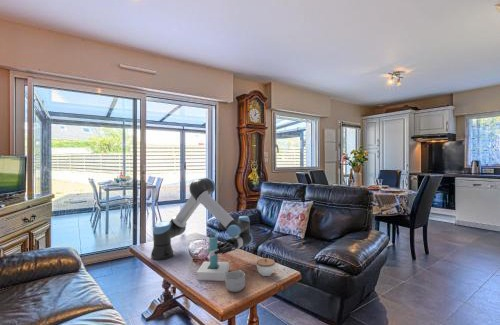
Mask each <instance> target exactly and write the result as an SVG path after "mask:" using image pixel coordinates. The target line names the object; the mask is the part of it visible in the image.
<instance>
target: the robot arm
mask: <svg viewBox="0 0 500 325" xmlns="http://www.w3.org/2000/svg"><path fill="white" fill-rule="evenodd" d="M188 188H189V189H188V190H189V193H190V197H189V198H188V199H187V201H186V202H185V203H184V205H183V206H182V208H181V209H180V210H179V212H177V215H174V216H173V217H172V218H171V220H169V221H168V220H167V221H160V222H157V223H155V224H154V225H153V230H152V233H153V234H152V235H153V248H152V249H151V250H152V251H151V254H150V259H152V260H154V259H156V261H162V260H163V261H164V260H168V259H171V258H173V257H174V249H173V246H172V240H171V239H173V238H176V237H178V236H181V235H182V234H183V233H184V232H185V231H186V228H187V222H188V220H189V219H190V218H191V217H192V215H193V214H194V213H195V211H196V210H197V209H198V207H199V206H200V204H201V205H202V206H203V207H204V208H205V209H206V210H207V211H208V212H209V213H210V214H211V215H213V216H214V218H215V219H216V220H217V221H218V222H219V223H220V224H221V225H223V227H224V228H225V229H226V233H227V235H228V236H229V237H230V238H228V239H227V240H226V241H224V242H222V241H219V242H217V249H216V250H213V251H210V247H209V248H208V247H207V248H206V249H203V250H202V251H203V252H202V254H203V255H209V256H208V257H209V258H210V257H211V256H214V255H216V254H221V255H225V254H227V253H229V252H230V253H231V252H232V251H235V250H238V249H239V248H242V247H245V246H248V245H250V244H251V243H253V241H254V237H253V234H252V233H251V232H250V231H251V230H250V229H251V228H250V223H251V221H250V217H249V216H248V215H240V216H238V217H237V218H238V219H237V221H236V220H235V219H234V218H233V217H232V216H231V215H230V214H229V213H228V212H227V211H226V210H225V209H224V208H223V207H222V206H221V205H220V204H219V203H218V202H217V201H216V199H214V198H213V197H212V196H211V195H212V194H213V193H214V192H215V191H216V183H215V181H214V180H213V179H211V178H209V177H204V178H199V179H198V178H196V179H195V180H193V181H192V182H190V184H189V187H188Z"/></svg>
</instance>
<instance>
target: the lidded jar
mask: <svg viewBox="0 0 500 325" xmlns="http://www.w3.org/2000/svg"><path fill="white" fill-rule="evenodd" d="M275 264H276V262H275V260H274V259H272V258H270V257H269V258H268V257H267V258H266V257H264V258H259V259H257V260H256V268H257V269H256V270H257V271H258V274H259V275H260V276H261V275H262V277H264V276H268V277H271V275H272V274H274V271H275Z"/></svg>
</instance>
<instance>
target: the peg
mask: <svg viewBox="0 0 500 325" xmlns="http://www.w3.org/2000/svg"><path fill="white" fill-rule="evenodd" d="M217 243H218V237H216V236H212V237H210V238H209V248H210V251H213V250H216V249H217ZM218 256H219V255H218V254H216V255H214V256H211V257H209V262H210V269H218V262H219V261H218Z"/></svg>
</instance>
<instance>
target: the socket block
mask: <svg viewBox="0 0 500 325" xmlns="http://www.w3.org/2000/svg"><path fill="white" fill-rule="evenodd" d="M228 272H230V262H229V261H218V269H210V261H206V260H205V261H202V264H201V265H200V267H199V268H198V270H197V271H196V281H218V282H222V281H223V282H225V274H226V273H228Z"/></svg>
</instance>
